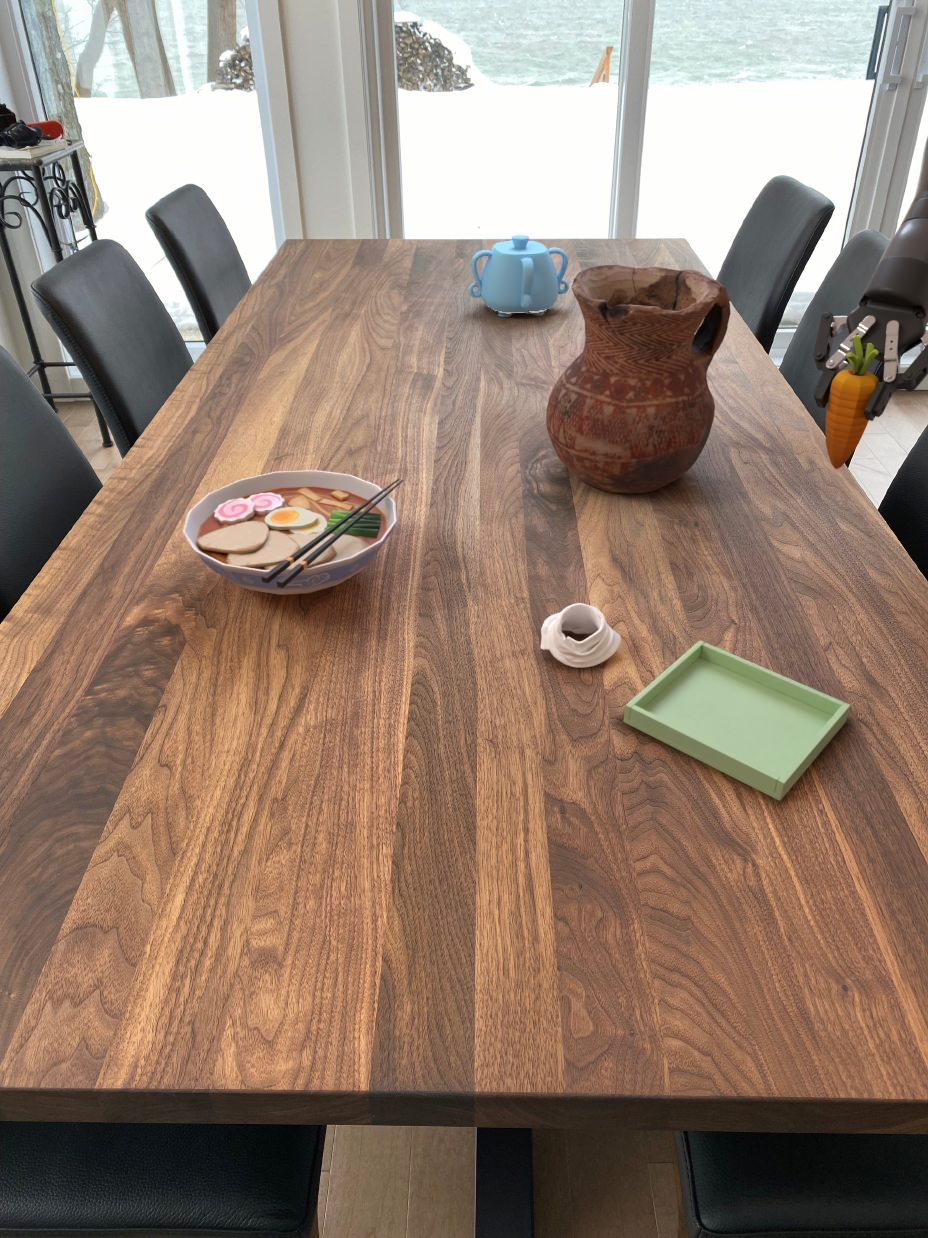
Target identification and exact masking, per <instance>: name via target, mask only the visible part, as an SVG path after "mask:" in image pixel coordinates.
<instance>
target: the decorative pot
mask: <svg viewBox="0 0 928 1238" xmlns="http://www.w3.org/2000/svg"><path fill="white" fill-rule="evenodd" d="M552 254H557V255H560V256H561V258H562V263H561V267H560V269H559V272H558V274H557V270H556V267H555V264H554V261H553V258H552ZM483 257H487V258H486V261H485V263H484V265H483V268H482V272H481V275H480V274H479V271H478V266H477V265H478V260H479V259H480V258H483ZM568 265H569V257H568V254H567V253H566V252H565V251H564V250H563V249H562V248H560V247H556V246H555V247H553V246H552V247H549V248H547V246H546V245H544V244H543V243H541V242H539V241H535V240H530V237H529V236H528V235H526V234H515V235H513V236H511V239H510V240H508V241H507V240H505V241H499V242H496V243H495V244H493V246H492V248H491V249H490V250H489V249H481V250H479V251H476V253H474V254H473V256H472V257H471V259H470V269H471V272H472V275H473V276H472V277H473V279H474V281H475V282H472V283H471V284H470V285H469V286H468V294H469V296H470V297H472V298H476V299H477V298H481V299H482V301H483V302H484V304H485V306H486V307H487V306H489V307H490V308H492V309H494V310H497V311H502V312H529V311H539V310H545V309H549V308H550V309H551V308H552V307H553V306H554V305H555V303H556V301H557V299H558V297H559V295H564V294H566V293H567V292H568V291H569V287H570V284H569V282H568V280H566V279H563V278H564V276H565V274H566V272H567V270H568ZM561 285H564V286H563V287H562V288H561ZM474 288H477V290H476V291H474ZM489 307H488V308H489ZM490 308H489V309H490ZM492 309H491V310H492ZM550 309H549V310H550ZM497 313H498V314H497V316H498V317H501V318H508V317H512V315H513V314H506V313H499V312H497ZM530 314H531V315H532V316H543V315H545V312H539V313H530Z"/></svg>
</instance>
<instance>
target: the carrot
mask: <svg viewBox="0 0 928 1238" xmlns="http://www.w3.org/2000/svg"><path fill="white" fill-rule="evenodd" d="M852 342H853V347H854V350H855V354H854V353H852V352H849V353H847V354H846V357H847V359H848V361H849V363H850V365H851V366H850V367H851V368H847V369H845V370H842V371H840V372H839V373H838V374H837V375H836V376H835V377H834V379H833V381H832V384H831V389H830V394H829V400H828V403H827V405H826V414H825V446H826V451H827V455H828V457H829V461H830V464H831V465H832V467H833V468H834V469H835V470H838V469H840V468H842V467H843V466H844V464H846V462H847V461H848V460H849V459H850V457H851V456H852V454H853V453H854V452H855V450H856V448H857V447H858V445H859V444H860V441H861V439H862V438H863V435H864V433H865V431H866V428H867V427H868V424H869V421H870V420H866V419H865V415H864V410H865V408H866V406H867V404H868V402H869V400H870V398H871V396H872V394H873V392H874V390H875V388H876V386H877V384H878V382H880V379H879V378H878V376H877V375H875V374H873V373H872V372H871V371H869V370H868V368H869V367H870V365H871V363H872V362H873V361H874V360H875V359H874V358H875V357H876V356H877V354H878V353H879V352H878V351H877V350H876V349H874V345H873V344H871V343H867V348H866V355H865V358H863V350H862V345H861V341H860V337H859V336H854V337H852Z"/></svg>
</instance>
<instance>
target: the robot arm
mask: <svg viewBox="0 0 928 1238" xmlns="http://www.w3.org/2000/svg"><path fill="white" fill-rule="evenodd" d="M919 171H920V172H919V176H918V180H917V186H916V190H915V194H914V197H913V199H912V201H911V203H910V205H909V208H908V209H907V212H906V213H905V215H904V217H903V220H902V221H901V223H900V226H899V227H898V229H897V230H896V232H895V234H894V235H893V237H892V238H891V239H890V241H889V243H888V244H887V246H886V248H885V250H884V252H883V254H882V255H881V258H880V260H879V262H878V264H877V266H876V268H875V269H874V272H873V273H872V276H871V277H870V280H869V282H868V284H867V285H866V287H865V290H864V291H863V294H862V295H861V298H860V300H859V302H858V304H857V306H856V307H855V308H854V309H853V310H852V311H850V313H848V315H835V316H834V315H833V312H832V311H825V312H824V313H822V314H821V317H820V322H819V326H818V331H817V335H816V340H815V344H814V349H813V353H812V358H813V360H814V364H815V366H816V369H817V370H818V371H822V374H821V375H820V377H819V380H818V381H817V383H816V386H815V387H814V389H813V397H814V401H815V404H816V407H817V408H821V409H825V408H827V406H828V400H829V394H830V389H831V384H832V381H833V379H834V377H835V376H836V375H837V374H838V373H839V372H840V371H842V370H845V369H849V368H850V367H852V366H851V365H850V363H849V361H848V359H847V357H846V354H847V353H849V352H852V353H854V354H855V350H854V347H853V342H852V337H854V336H859V337H860V341H861V345H862V350H863V359H865V355H866V348H867V343H871V344H873V345H874V349H876V350H877V351H878V352H879V353H878V354H877V356H876V357H875V358H874V359H873V360H876V361H878V362H879V363H883V364H884V365H883V375H882V376H883V377H882V379H881V381H879V382H878V384H877V386H876V388H875V390H874V392H873V394H872V396H871V398H870V400H869V402H868V404H867V406H866V408H865V410H864V415H865V419H866V420H869V421H871V422H873V421H874V420H875V418H880V417H881V416H882V415H883V414H884V412H885V410H886V408H887V406H888V404H889V402H890V400H891V398H892V396H893V394H894V393H895V392H897V391H901V390H905V391H906V392H913V391H915V390H916V389H917V388H918V387H919V386H920V384H921V383H922V382H923V381H924V380H925V378H926V377H927V376H928V332H927V325H928V136H927V137H926V140H925V144H924V147H923V152H922V158H921V165H920V170H919ZM846 328H847V330H848V336H847V337H846V338H845V339H844V340H843V342H841V343H840V344H839V346H838V349H837V350H836V351H835V352H834V353H833V355H831V352H832V347H833V342H834V339H835V338H838V337H839V336H840V334H841V333H842V331H843V330H844V329H846ZM919 345H920V348H919V349H920V353H919V354H918V355H917V356H916V358H915V359H914V360H913V361H912V363H911V364H910V365H909V366H908V368H906V370H904V372H901V362H902V361H901V360H902V356H903V355H905V354H906V353H908V352H909V351H911V350H912V349H914V348H916V347H917V346H919Z"/></svg>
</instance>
